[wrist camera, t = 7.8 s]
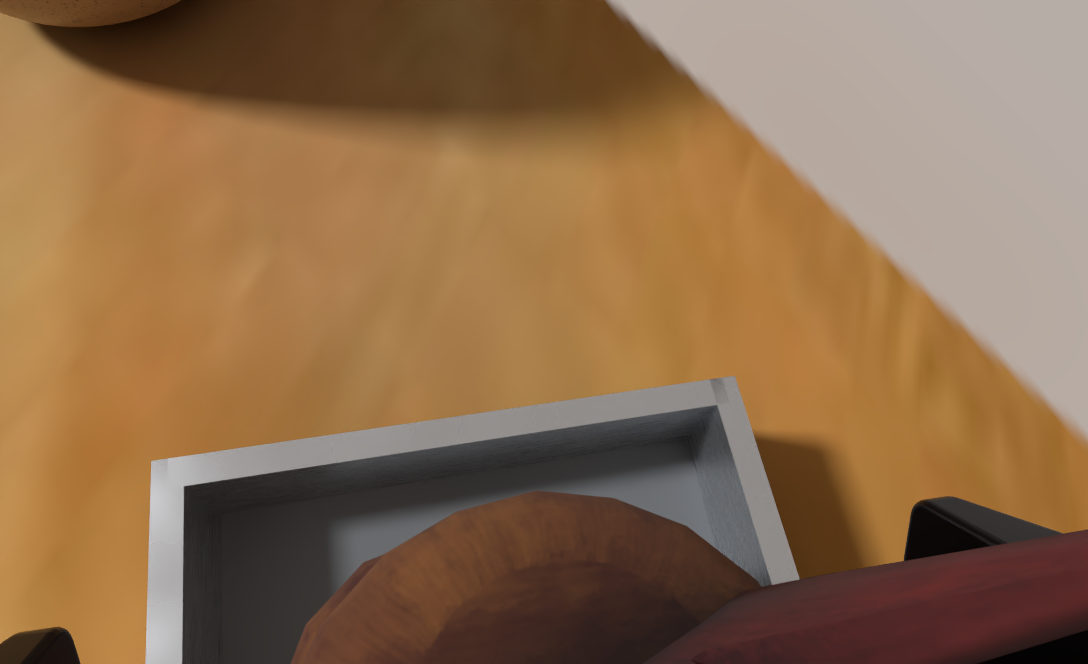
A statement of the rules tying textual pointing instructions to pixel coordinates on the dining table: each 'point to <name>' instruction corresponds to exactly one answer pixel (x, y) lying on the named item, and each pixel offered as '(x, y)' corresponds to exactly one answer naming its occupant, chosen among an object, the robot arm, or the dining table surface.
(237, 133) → the dining table surface
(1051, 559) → the wooden figurine
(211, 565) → the grey shallow rectangular tray
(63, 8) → the vase
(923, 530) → the robot arm
